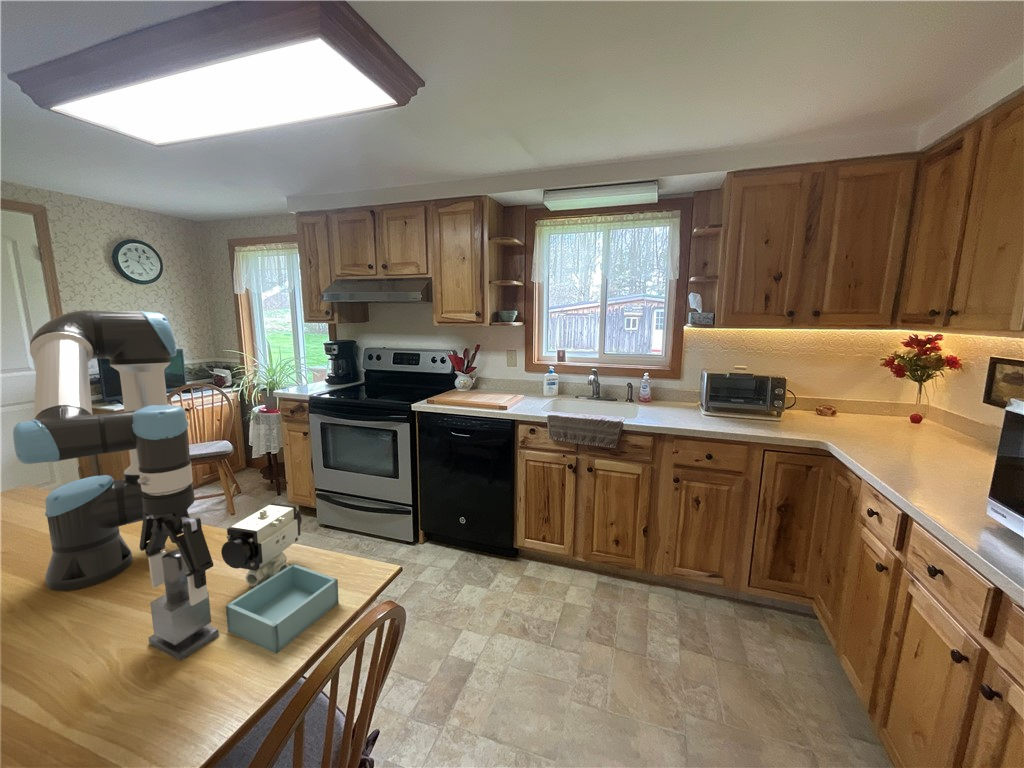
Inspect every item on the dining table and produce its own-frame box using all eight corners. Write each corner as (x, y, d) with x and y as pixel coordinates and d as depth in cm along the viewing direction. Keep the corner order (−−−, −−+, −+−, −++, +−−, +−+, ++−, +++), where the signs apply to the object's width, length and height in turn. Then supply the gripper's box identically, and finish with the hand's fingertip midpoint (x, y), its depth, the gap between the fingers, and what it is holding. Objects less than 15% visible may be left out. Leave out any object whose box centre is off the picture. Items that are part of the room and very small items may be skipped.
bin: (227, 631, 85) (225, 605, 84) (294, 586, 100) (293, 563, 99) (275, 654, 80) (273, 626, 79) (338, 602, 95) (337, 579, 94)
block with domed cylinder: (154, 634, 81) (144, 559, 78) (190, 612, 87) (183, 542, 84) (174, 645, 78) (166, 568, 76) (211, 622, 84) (204, 550, 82)
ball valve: (255, 603, 94) (249, 531, 91) (224, 597, 95) (217, 526, 92) (309, 559, 111) (305, 497, 108) (281, 554, 113) (277, 493, 110)
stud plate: (149, 644, 81) (144, 604, 80) (188, 620, 88) (184, 583, 86) (180, 661, 78) (176, 620, 76) (218, 635, 84) (215, 597, 83)
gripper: (107, 483, 79) (121, 586, 82) (185, 508, 70) (197, 623, 73) (153, 470, 85) (164, 566, 89) (230, 492, 77) (238, 597, 80)
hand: (179, 592), depth 81 cm, fingers open, 11 cm apart
